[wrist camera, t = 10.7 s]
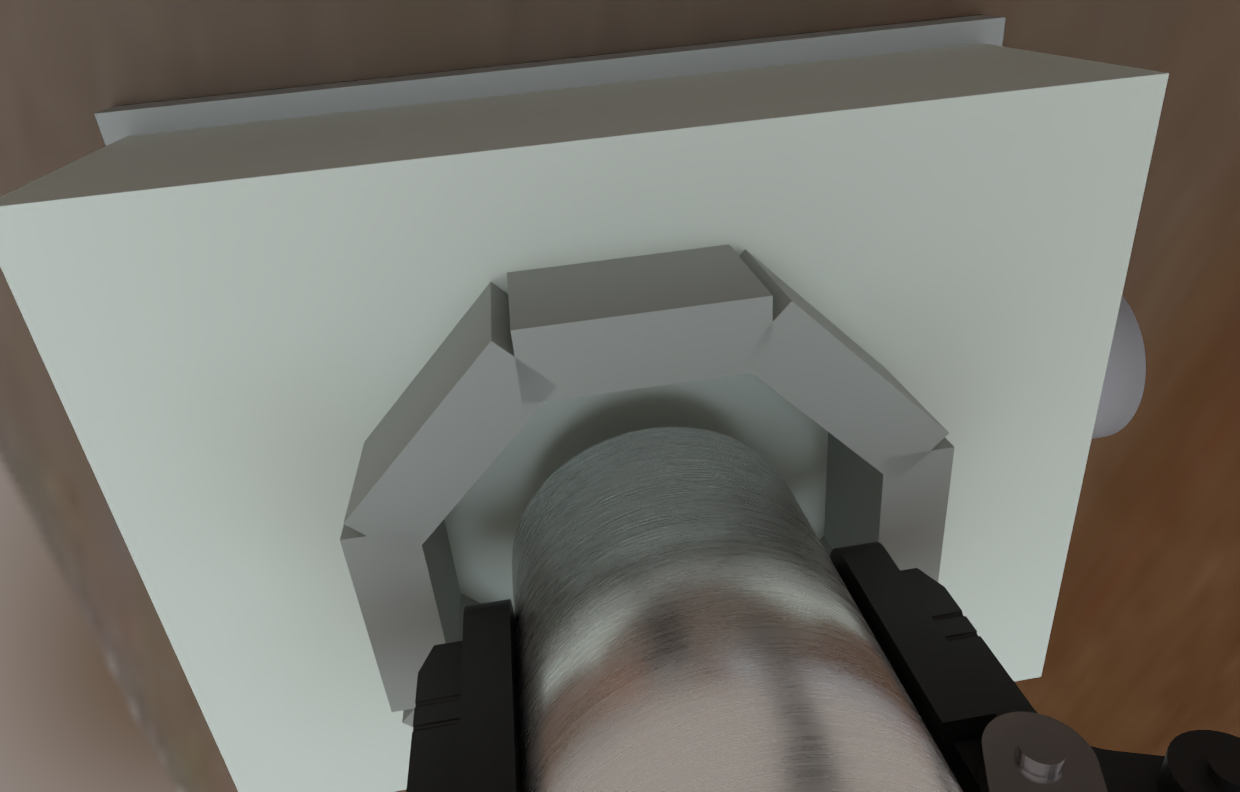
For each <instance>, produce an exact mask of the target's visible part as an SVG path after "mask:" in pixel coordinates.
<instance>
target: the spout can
mask: <svg viewBox="0 0 1240 792" xmlns="http://www.w3.org/2000/svg"><path fill="white" fill-rule="evenodd" d="M512 580H513V605H514V616H515V635H516V659H517V683H518V707H519V731H520V755H521V779H522V792H964V791H963V790H962V788H961V786H960V784H959V783H958V781H957V779H956V778H955V776H954V774H953V772H952V771H951V769H950V767H949V765H948V764H947V762H946V760H945V758H944V757H943V755H942V753H941V751H940V750H939V748H938V746H937V744H936V743H935V741H934V739H933V737H932V736H931V734H930V732H929V730H928V729H927V727H926V725H925V723H924V722H923V720H922V718H921V716H920V715H919V713H918V711H917V709H916V708H915V706H914V704H913V702H912V701H911V699H910V697H909V695H908V694H907V692H906V690H905V688H904V687H903V685H902V683H901V681H900V680H899V678H898V676H897V675H896V673H895V671H894V669H893V668H892V666H891V664H890V662H889V661H888V659H887V657H886V655H885V654H884V652H883V650H882V648H881V647H880V645H879V643H878V641H877V640H876V638H875V636H874V634H873V633H872V631H871V629H870V627H869V626H868V624H867V622H866V620H865V619H864V617H863V615H862V613H861V612H860V610H859V608H858V606H857V605H856V603H855V601H854V599H853V598H852V596H851V594H850V592H849V591H848V589H847V587H846V585H845V584H844V582H843V580H842V578H841V577H840V575H839V573H838V572H837V570H836V568H835V566H834V565H833V563H832V561H831V559H830V558H829V556H828V554H827V552H826V551H825V549H824V547H823V545H822V544H821V542H820V540H819V538H818V537H817V535H816V533H815V531H814V530H813V528H812V526H811V524H810V523H809V521H808V519H807V517H806V516H805V514H804V512H803V510H802V509H801V507H800V505H799V503H798V502H797V500H796V498H795V496H794V495H793V493H792V491H791V489H790V488H789V486H788V484H787V483H786V481H785V480H784V478H783V476H782V475H781V474H780V472H779V471H778V470H777V469H776V468H775V467H774V465H773V464H772V463H771V462H770V461H769V460H767V459H766V458H765V457H764V456H763V455H761V454H760V453H759V452H758V451H756V450H754V449H753V448H751V447H750V446H748V445H746V444H745V443H743V442H741V441H738V440H736V439H734V438H731V437H729V436H727V435H723V434H720V433H716V432H713V431H709V430H704V429H697V428H690V427H660V428H649V429H644V430H639V431H634V432H629V433H626V434H623V435H619V436H616V437H613V438H610V439H607V440H605V441H603V442H601V443H599V444H596V445H594V446H592V447H590V448H588V449H586V450H585V451H583V452H581V453H580V454H578V455H576V456H575V457H573V458H572V459H570V460H569V461H568V462H566V463H565V464H564V465H563V466H561V467H560V468H559V469H557V470H556V471H555V472H554V473H553V474H552V475H551V476H550V477H549V478H548V479H547V480H546V481H545V482H544V483H543V484H542V486H541V487H540V488H539V489H538V491H537V492H536V493H535V495H534V496H533V497H532V498H531V500H530V502H529V504H528V505H527V507H526V509H525V511H524V512H523V514H522V517H521V519H520V522H519V524H518V527H517V529H516V534H515V538H514V542H513V550H512Z"/></svg>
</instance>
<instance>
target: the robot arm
mask: <svg viewBox="0 0 1240 792" xmlns="http://www.w3.org/2000/svg"><path fill="white" fill-rule="evenodd" d="M830 559H831V561H832V563H833V565H834V566H835V568H836V570H837V572H838V573H839V575H840V577H841V578H842V580H843V582H844V584H845V585H846V587H847V589H848V591H849V592H850V594H851V596H852V598H853V599H854V601H855V603H856V605H857V606H858V608H859V610H860V612H861V613H862V615H863V617H864V619H865V620H866V622H867V624H868V626H869V627H870V629H871V631H872V633H873V634H874V636H875V638H876V640H877V641H878V643H879V645H880V647H881V648H882V650H883V652H884V654H885V655H886V657H887V659H888V661H889V662H890V664H891V666H892V668H893V669H894V671H895V673H896V675H897V676H898V678H899V680H900V681H901V683H902V685H903V687H904V688H905V690H906V692H907V694H908V695H909V697H910V699H911V701H912V702H913V704H914V706H915V708H916V709H917V711H918V713H919V715H920V716H921V718H922V720H923V722H924V723H925V725H926V727H927V729H928V730H929V732H930V734H931V736H932V737H933V739H934V741H935V743H936V744H937V746H938V748H939V750H940V751H941V753H942V755H943V757H944V758H945V760H946V762H947V764H948V765H949V767H950V769H951V771H952V772H953V774H954V776H955V778H956V779H957V781H958V783H959V784H960V786H961V788H962V790H963V791H964V792H1240V738H1239V737H1236V736H1233V735H1230V734H1226V733H1222V732H1218V731H1211V730H1195V731H1188V732H1185V733H1182V734H1180V735H1179V736H1177V737H1175V738H1174V739H1173V741H1172V742H1171V743H1170V745H1169V747H1168V749H1167V752H1166V755H1165V756H1157V755H1148V754H1138V753H1129V752H1120V751H1111V750H1105V749H1100V748H1096V747H1092V746H1090V745H1089V744H1088V743H1087V742H1086V740H1085V739H1084V738H1083V737H1082V736H1080V735H1079V734H1078V733H1077V732H1076V731H1075V730H1073V729H1072V728H1070V727H1069V726H1067V725H1066V724H1064V723H1062V722H1060V721H1058V720H1056V719H1053V718H1051V717H1049V716H1045V715H1042V714H1038V713H1037V712H1036V711H1035V710H1034V708H1033V707H1032V706H1031V704H1030V703H1029V702H1028V700H1027V699H1026V698H1025V696H1024V695H1023V693H1022V692H1021V691H1020V689H1019V688H1018V687H1017V685H1016V684H1015V682H1014V681H1013V680H1012V678H1011V677H1010V676H1009V674H1008V673H1007V672H1006V670H1005V669H1004V667H1003V666H1002V665H1001V663H1000V662H999V661H998V659H997V658H996V656H995V655H994V654H993V652H992V651H991V650H990V648H989V647H988V645H987V644H986V643H985V641H984V640H983V639H982V637H981V636H978V635H977V630H976V629H975V628H974V626H973V625H972V624H971V622H970V621H969V619H968V618H967V617H966V616H963V613H962V610H961V609H960V607H959V606H958V604H957V603H956V602H955V600H954V599H953V598H952V596H951V595H950V593H949V592H948V591H947V589H946V588H945V587H944V586H943V585H941V584H940V583H938V582H937V581H935V580H934V579H932V578H931V577H930V576H928V575H927V574H925V573H924V572H922V571H921V570H919V569H918V568H913V569H907V570H901V571H900V570H899V568H898V567H897V565H896V564H895V562H894V561H893V559H892V558H891V556H890V555H889V553H888V552H887V550H886V549H885V548H884V546H883V545H882V544H881V543H879V542H871V543H865V544H858V545H852V546H846V547H839V548H834V549H832V551H831V554H830ZM415 704H416V707H415V708H414V718H413V732H412V739H411V749H410V759H409V770H408V780H407V790H406V792H522V779H521V755H520V731H519V707H518V683H517V659H516V635H515V616H514V610H513V605H512V602H511V599H506V600H500V601H494V602H487V603H481V604H475V605H469V606H465V607H464V614H463V641H457V642H451V643H445V644H439V645H434V646H433V648H432V650H431V651H430V653H429V655H428V656H427V658H426V660H425V662H424V663H423V665H422V667H421V668H420V670H419V672H418V678H417V688H416V698H415Z"/></svg>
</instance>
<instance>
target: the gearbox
mask: <svg viewBox="0 0 1240 792" xmlns="http://www.w3.org/2000/svg"><path fill="white" fill-rule="evenodd" d="M1005 18H1006V17H999V16H989V15H977V16H967V17H958V18H948V19H939V20H929V21H920V22H910V23H901V24H891V25H882V26H872V27H863V28H853V29H844V30H834V31H825V32H815V33H806V34H796V35H787V36H777V37H768V38H758V39H749V40H739V41H730V42H720V43H711V44H701V45H692V46H682V47H673V48H663V49H654V50H644V51H635V52H625V53H616V54H606V55H597V56H587V57H578V58H568V59H559V60H549V61H540V62H531V63H521V64H512V65H502V66H493V67H483V68H474V69H464V70H455V71H445V72H436V73H426V74H417V75H407V76H398V77H388V78H379V79H369V80H360V81H350V82H341V83H331V84H322V85H312V86H303V87H293V88H284V89H274V90H265V91H255V92H246V93H236V94H227V95H217V96H208V97H198V98H189V99H179V100H170V101H160V102H151V103H141V104H132V105H122V106H113V107H110V108H108V109H105V110H103V111H100V112H97V113H95V117H96V120H97V123H98V125H99V128H100V131H101V134H102V136H103V139H104V142H105V145H106V146H105V147H103V148H101V149H99V150H97V151H95V152H93V153H91V154H89V155H86V156H84V157H82V158H80V159H78V160H76V161H74V162H72V163H70V164H68V165H66V166H64V167H61V168H59V169H57V170H55V171H53V172H51V173H49V174H47V175H45V176H43V177H41V178H38V179H36V180H34V181H32V182H30V183H28V184H26V185H24V186H22V187H20V188H18V189H16V190H13V191H11V192H9V193H7V194H5V195H3V196H1V197H0V267H1V269H2V271H3V273H4V276H5V278H6V280H7V282H8V284H9V287H10V289H11V291H12V293H13V295H14V298H15V300H16V302H17V304H18V307H19V309H20V311H21V313H22V315H23V318H24V320H25V322H26V324H27V326H28V329H29V331H30V333H31V335H32V337H33V340H34V342H35V344H36V346H37V348H38V351H39V353H40V355H41V357H42V359H43V362H44V364H45V366H46V368H47V371H48V373H49V375H50V377H51V379H52V382H53V384H54V386H55V388H56V390H57V393H58V395H59V397H60V399H61V401H62V404H63V406H64V408H65V410H66V412H67V415H68V417H69V419H70V421H71V423H72V426H73V428H74V430H75V432H76V434H77V437H78V439H79V441H80V443H81V446H82V448H83V450H84V452H85V454H86V457H87V459H88V461H89V463H90V465H91V468H92V470H93V472H94V474H95V476H96V479H97V481H98V483H99V485H100V487H101V490H102V492H103V494H104V496H105V498H106V501H107V503H108V505H109V507H110V509H111V512H112V514H113V516H114V518H115V521H116V523H117V525H118V527H119V529H120V532H121V534H122V536H123V538H124V540H125V543H126V545H127V547H128V549H129V551H130V554H131V556H132V558H133V560H134V562H135V565H136V567H137V569H138V571H139V573H140V576H141V578H142V580H143V582H144V585H145V587H146V589H147V591H148V593H149V596H150V598H151V600H152V602H153V604H154V607H155V609H156V611H157V613H158V615H159V618H160V620H161V622H162V624H163V626H164V629H165V631H166V633H167V635H168V637H169V640H170V642H171V644H172V646H173V648H174V651H175V653H176V655H177V657H178V660H179V662H180V664H181V666H182V668H183V671H184V673H185V675H186V677H187V679H188V682H189V684H190V686H191V688H192V690H193V693H194V695H195V697H196V699H197V701H198V704H199V706H200V708H201V710H202V712H203V715H204V717H205V719H206V721H207V724H208V726H209V728H210V730H211V732H212V735H213V737H214V739H215V741H216V743H217V746H218V748H219V750H220V752H221V754H222V757H223V759H224V761H225V763H226V765H227V768H228V770H229V772H230V774H231V776H232V779H233V781H234V783H235V785H236V787H237V790H238V792H394V791H400V790H405V789H407V780H408V770H409V759H410V749H411V739H412V732H413V718H414V708H415V707H416V704H415V698H416V688H417V678H418V672H419V670H420V668H421V667H422V665H423V663H424V662H425V660H426V658H427V656H428V655H429V653H430V651H431V650H432V648H433V646H434V645H439V644H445V643H451V642H457V641H463V614H464V607H465V606H469V605H475V604H481V603H487V602H494V601H500V600H506V599H511V602H512V605H513V580H512V550H513V542H514V538H515V534H516V529H517V527H518V524H519V522H520V519H521V517H522V514H523V512H524V511H525V509H526V507H527V505H528V504H529V502H530V500H531V498H532V497H533V496H534V495H535V493H536V492H537V491H538V489H539V488H540V487H541V486H542V484H543V483H544V482H545V481H546V480H547V479H548V478H549V477H550V476H551V475H552V474H553V473H554V472H555V471H556V470H557V469H559V468H560V467H561V466H563V465H564V464H565V463H566V462H568V461H569V460H570V459H572V458H573V457H575V456H576V455H578V454H580V453H581V452H583V451H585V450H586V449H588V448H590V447H592V446H594V445H596V444H599V443H601V442H603V441H605V440H607V439H610V438H613V437H616V436H619V435H623V434H626V433H629V432H634V431H639V430H644V429H649V428H660V427H690V428H697V429H704V430H709V431H713V432H716V433H720V434H723V435H727V436H729V437H731V438H734V439H736V440H738V441H741V442H743V443H745V444H746V445H748V446H750V447H751V448H753V449H754V450H756V451H758V452H759V453H760V454H761V455H763V456H764V457H765V458H766V459H767V460H769V461H770V462H771V463H772V464H773V465H774V467H775V468H776V469H777V470H778V471H779V472H780V474H781V475H782V476H783V478H784V480H785V481H786V483H787V484H788V486H789V488H790V489H791V491H792V493H793V495H794V496H795V498H796V500H797V502H798V503H799V505H800V507H801V509H802V510H803V512H804V514H805V516H806V517H807V519H808V521H809V523H810V524H811V526H812V528H813V530H814V531H815V533H816V535H817V537H818V538H819V540H820V542H821V544H822V545H823V547H824V549H825V551H826V552H827V554H828V556H829V558H830V554H831V551H832V549H834V548H839V547H846V546H852V545H858V544H865V543H871V542H879V543H881V544H882V545H883V546H884V548H885V549H886V550H887V552H888V553H889V555H890V556H891V558H892V559H893V561H894V562H895V564H896V565H897V567H898V568H899V570H900V571H901V570H907V569H913V568H918V569H919V570H921V571H922V572H924V573H925V574H927V575H928V576H930V577H931V578H932V579H934V580H935V581H937V582H938V583H940V584H941V585H943V586H944V587H945V588H946V589H947V591H948V592H949V593H950V595H951V596H952V598H953V599H954V600H955V602H956V603H957V604H958V606H959V607H960V609H961V610H962V613H963V616H966V617H967V618H968V619H969V621H970V622H971V624H972V625H973V626H974V628H975V629H976V630H977V635H978V636H981V637H982V639H983V640H984V641H985V643H986V644H987V645H988V647H989V648H990V650H991V651H992V652H993V654H994V655H995V656H996V658H997V659H998V661H999V662H1000V663H1001V665H1002V666H1003V667H1004V669H1005V670H1006V672H1007V673H1008V674H1009V676H1010V677H1011V678H1012V680H1013V681H1020V680H1025V679H1031V678H1037V677H1041V674H1042V670H1043V665H1044V660H1045V655H1046V651H1047V646H1048V641H1049V637H1050V632H1051V627H1052V623H1053V618H1054V613H1055V608H1056V604H1057V599H1058V594H1059V590H1060V585H1061V580H1062V575H1063V571H1064V566H1065V561H1066V557H1067V552H1068V547H1069V542H1070V538H1071V533H1072V528H1073V524H1074V519H1075V514H1076V509H1077V505H1078V500H1079V495H1080V491H1081V486H1082V481H1083V476H1084V472H1085V467H1086V462H1087V458H1088V453H1089V448H1090V444H1091V439H1093V438H1100V437H1106V436H1110V435H1113V434H1115V433H1117V432H1119V431H1120V430H1121V429H1123V428H1124V427H1125V426H1126V425H1127V424H1128V423H1129V422H1130V420H1131V419H1132V418H1133V416H1134V414H1135V413H1136V411H1137V409H1138V406H1139V404H1140V401H1141V398H1142V395H1143V390H1144V385H1145V376H1146V358H1145V349H1144V343H1143V339H1142V334H1141V331H1140V328H1139V325H1138V322H1137V320H1136V318H1135V315H1134V313H1133V311H1132V309H1131V307H1130V306H1129V304H1128V302H1127V301H1126V300H1125V298H1124V297H1123V295H1122V293H1123V288H1124V283H1125V279H1126V274H1127V269H1128V264H1129V260H1130V255H1131V250H1132V246H1133V241H1134V236H1135V232H1136V227H1137V222H1138V217H1139V213H1140V208H1141V203H1142V199H1143V194H1144V189H1145V184H1146V180H1147V175H1148V170H1149V166H1150V161H1151V156H1152V151H1153V147H1154V142H1155V137H1156V133H1157V128H1158V123H1159V118H1160V114H1161V109H1162V104H1163V100H1164V95H1165V90H1166V85H1167V81H1168V76H1169V73H1165V72H1159V71H1153V70H1146V69H1140V68H1134V67H1128V66H1122V65H1115V64H1109V63H1103V62H1097V61H1090V60H1084V59H1078V58H1072V57H1066V56H1059V55H1053V54H1047V53H1041V52H1035V51H1028V50H1022V49H1016V48H1010V47H1003V46H1002V43H1003V35H1004V27H1005ZM513 610H514V605H513Z"/></svg>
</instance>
